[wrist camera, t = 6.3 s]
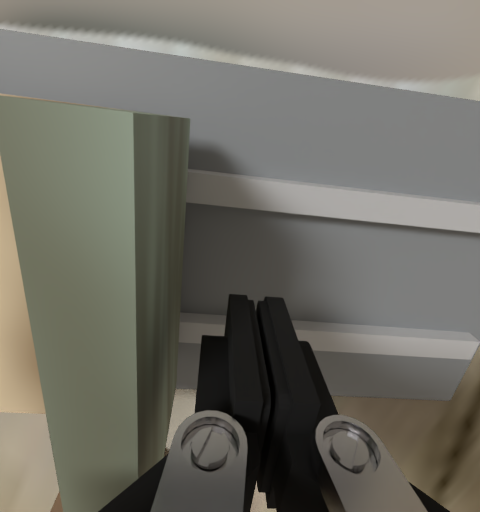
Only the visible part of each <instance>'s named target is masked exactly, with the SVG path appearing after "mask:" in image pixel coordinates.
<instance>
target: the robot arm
mask: <svg viewBox="0 0 480 512" xmlns="http://www.w3.org/2000/svg"><path fill="white" fill-rule="evenodd" d="M256 481H257V487H258V491H259V492H265V493H266V501H267V508H276V510H277V512H450V511H448V510H447V509H445V508H444V507H443V506H441V505H440V504H439V503H437V502H436V501H434V500H433V499H432V498H430V497H429V496H428V495H426V494H425V493H423V492H422V491H421V490H419V489H418V488H416V487H415V486H414V485H412V484H411V483H410V482H408V481H407V479H406V478H405V476H404V475H403V473H402V471H401V470H400V468H399V467H398V465H397V464H396V462H395V461H394V459H393V458H392V456H391V455H390V453H389V452H388V450H387V448H386V447H385V445H384V444H383V442H382V441H381V440H380V438H379V437H378V436H377V435H376V434H375V432H374V431H373V430H371V429H370V428H369V427H368V426H367V425H365V424H364V423H362V422H360V421H358V420H357V419H355V418H352V417H348V416H345V415H338V412H337V410H336V407H335V405H334V402H333V400H332V397H331V395H330V392H329V390H328V387H327V385H326V382H325V380H324V377H323V375H322V372H321V370H320V367H319V365H318V362H317V360H316V357H315V355H314V353H313V350H312V348H311V345H310V344H309V342H307V341H298V338H297V335H296V332H295V330H294V327H293V324H292V321H291V318H290V315H289V313H288V310H287V307H286V304H285V301H284V299H283V298H281V297H267V296H265V298H264V301H258V303H257V308H256V310H255V305H254V300H248V297H247V295H239V294H229V299H228V307H227V316H226V324H225V333H224V336H212V335H202V338H201V349H200V360H199V371H198V382H197V393H196V404H195V414H193V415H191V416H190V417H188V418H186V419H185V420H184V421H183V422H182V423H181V425H180V426H179V427H178V429H177V431H176V433H175V435H174V438H173V441H172V444H171V448H170V451H169V454H167V455H166V456H165V457H164V458H163V459H161V460H160V461H159V462H158V463H156V464H155V465H154V466H153V467H152V468H150V469H149V470H148V471H147V472H146V473H144V474H143V475H142V476H141V477H139V478H138V479H137V480H136V481H135V482H133V483H132V484H131V485H130V486H129V487H127V488H126V489H125V490H124V491H122V492H121V493H120V494H119V495H118V496H116V497H115V498H114V499H113V500H112V501H110V502H109V503H108V504H107V505H105V506H104V507H103V508H102V509H101V510H99V511H98V512H250V508H251V504H252V499H253V495H254V490H255V485H256Z"/></svg>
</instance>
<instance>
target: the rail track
mask: <svg viewBox="0 0 480 512" xmlns="http://www.w3.org/2000/svg"><path fill="white" fill-rule="evenodd" d="M0 94H8V95H15V96H23V97H31V98H38V99H46V100H54V101H61V102H69V103H76V104H84V105H92V106H99V107H107V108H114V109H122V110H130V111H137V112H145V113H152V114H160V115H168V116H175V117H183V118H190V137H189V156H188V175H187V194H186V212H185V231H184V250H183V269H182V288H181V307H180V326H179V345H178V364H177V383H176V389H197V382H198V371H199V360H200V349H201V338H202V335H212V336H224V333H225V324H226V316H227V307H228V299H229V294H239V295H247V297H248V300H254V305H255V310H256V308H257V303H258V301H264V298H265V296H267V297H281V298H283V299H284V301H285V304H286V307H287V310H288V313H289V315H290V318H291V321H292V324H293V327H294V330H295V332H296V335H297V338H298V341H307V342H309V344H310V345H311V348H312V350H313V353H314V355H315V357H316V360H317V362H318V365H319V367H320V370H321V372H322V375H323V377H324V380H325V382H326V385H327V387H328V390H329V392H330V395H331V396H352V397H374V398H397V399H419V400H441V401H450V400H451V398H452V396H453V394H454V392H455V391H456V389H457V387H458V385H459V383H460V381H461V379H462V377H463V375H464V374H465V372H466V370H467V368H468V366H469V364H470V362H471V360H472V358H473V357H474V355H475V353H476V351H477V349H478V347H479V345H480V101H475V100H468V99H462V98H455V97H448V96H442V95H435V94H428V93H422V92H415V91H409V90H402V89H395V88H389V87H382V86H375V85H369V84H362V83H355V82H349V81H342V80H336V79H329V78H322V77H316V76H309V75H302V74H296V73H289V72H283V71H276V70H269V69H263V68H256V67H249V66H243V65H236V64H229V63H223V62H216V61H210V60H203V59H196V58H190V57H183V56H176V55H170V54H163V53H156V52H150V51H143V50H137V49H130V48H123V47H117V46H110V45H103V44H97V43H90V42H83V41H77V40H70V39H64V38H57V37H50V36H44V35H37V34H30V33H24V32H17V31H10V30H4V29H0Z"/></svg>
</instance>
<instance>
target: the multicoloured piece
mask: <svg viewBox="0 0 480 512" xmlns="http://www.w3.org/2000/svg"><path fill="white" fill-rule="evenodd" d="M189 137H190V118H183V117H175V116H168V115H160V114H152V113H145V112H137V111H130V110H122V109H114V108H107V107H99V106H92V105H84V104H76V103H69V102H61V101H54V100H46V99H38V98H31V97H23V96H15V95H8V94H0V412H11V413H39V414H46V417H47V423H48V428H49V434H50V440H51V445H52V451H53V457H54V462H55V468H56V474H57V480H58V485H59V491H60V497H61V502H62V508H63V512H98V511H99V510H101V509H102V508H103V507H104V506H105V505H107V504H108V503H109V502H110V501H112V500H113V499H114V498H115V497H116V496H118V495H119V494H120V493H121V492H122V491H124V490H125V489H126V488H127V487H129V486H130V485H131V484H132V483H133V482H135V481H136V480H137V479H138V478H139V477H141V476H142V475H143V474H144V473H146V472H147V471H148V470H149V469H150V468H152V467H153V466H154V465H155V464H156V463H158V462H159V461H160V460H161V459H163V458H164V453H165V447H166V441H167V435H168V429H169V423H170V418H171V412H172V406H173V400H174V394H175V388H176V383H177V364H178V345H179V326H180V307H181V288H182V269H183V250H184V231H185V212H186V194H187V175H188V156H189Z"/></svg>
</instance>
